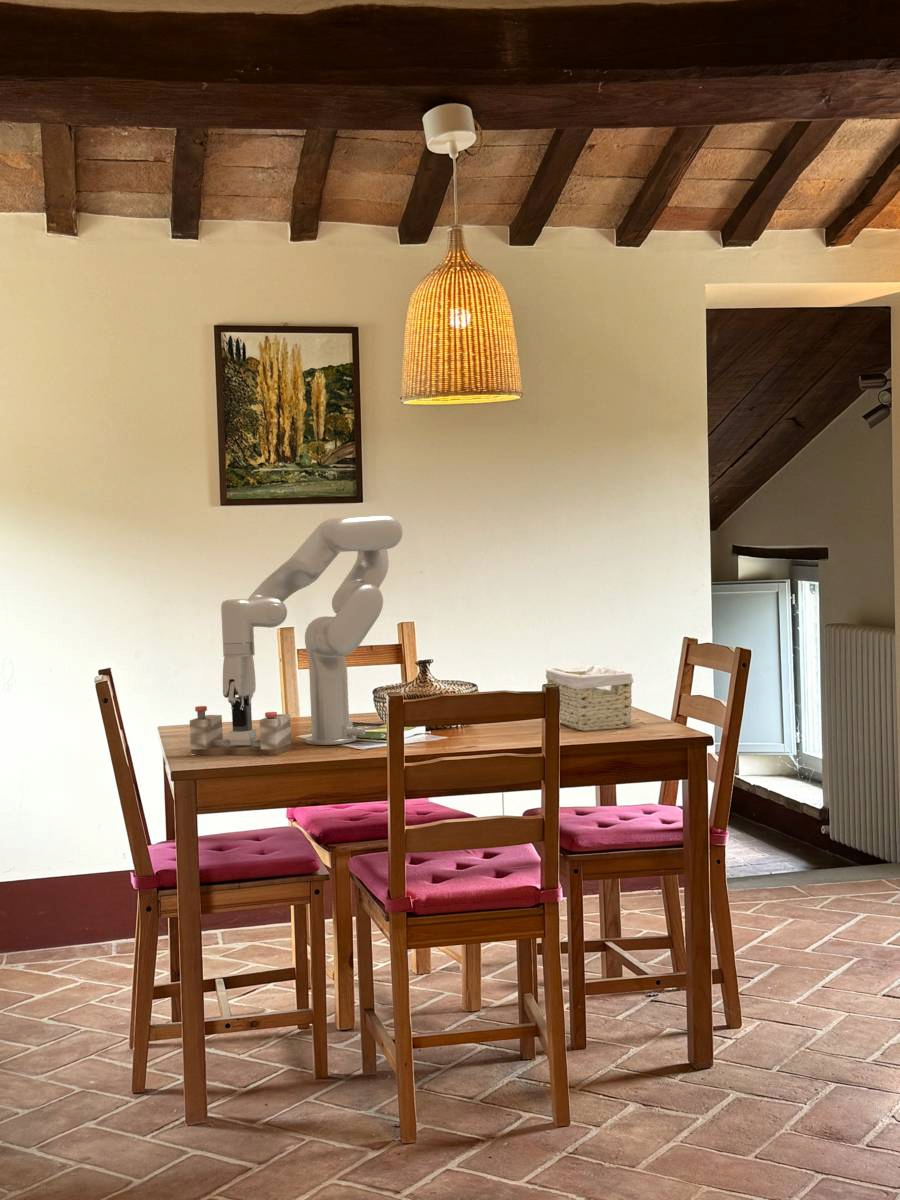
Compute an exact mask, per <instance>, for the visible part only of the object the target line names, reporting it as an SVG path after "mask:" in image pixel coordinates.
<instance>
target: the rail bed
mask: <svg viewBox="0 0 900 1200" xmlns="http://www.w3.org/2000/svg"><path fill="white" fill-rule="evenodd" d="M291 728H292V727H291V714H287V713H286V714H283V713H282V714H279V713H277V717H275V719H267V717H264V718H261V719H259V738H260V739H259V738H258V739H257V738H255V739H250V741H251V745H230V740H229V738H227V739H225V738H223V737H224V736H223V735H224V734H223V715H222V714H205V719H204V720H198V717H196V718H193V719H190V720H189V738H190V755H191V754H196V755H195V756H279V755H281V754H283V753H285V752H288V751H290V750H292V729H291Z"/></svg>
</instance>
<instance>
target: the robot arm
mask: <svg viewBox="0 0 900 1200" xmlns="http://www.w3.org/2000/svg"><path fill="white" fill-rule="evenodd" d="M402 538H403V528H402V525H401V523H400V522H399V520H398V519H396V518H395V517H393V516H391V515H373V516H362V517H361V516H359V517H336V518H335V517H334V518H328V519H325V520H323V521H322V522H320V524H319V525H317V526H316V528H315V529H314V530H313V531H312V532H311V534H309V536H307V538H306V540H305V541H304V542H303V543H302V544H301V545H300V546H299V547H298V549H296V550H295V552H294V553H293V554H292V555H291V557H290V558H289V559H288V560H286V561H285V562H284V563H282V564H281V565H280V566H279V567H278V568H276V569H275V571H273V572H272V573H271V574H270V575H268V576H267V577H266V578H265V579H264V580H263V581H262V582H261V583H260V584H259V585H258V586H257V588H255V590H254V591H253V592H252V593H251V594H250V596H249V597H248V598H235V599H226V600H224V601H222V602H221V606H220V612H221V614H220V615H221V631H222V632H221V633H222V655H223V656H222V657H223V663H222V665H223V666H222V696H223V697H224V698H225V699H227V700H228V703H229V704H230V705H231V707H230V708H231V717H232V716H233V725H232V727H233V726H234V727H244V726H246V713H245V710H244V705H251V706H252V699H253V697H254V694H255V692H256V682H257V681H256V671H255V670H256V669H255V661H254V656H256V654H255V633H254V630H255V629H254V628H255V627H257V628H268V629H270V628H272V629H273V628H275V627H279V626H281V624H283V623H284V621H285V620H286V618H287V616H288V609H287V606H286V604H285V603H284V602H286V600H287V599H288V598H289V597H290V596H292V595H293V594H295V593H296V592H298V591H300V590H303V589H304V588H307V587H309V586H310V585H312V584H313V583H314V582H316V581H317V580H318V579H319V578H320V577H321V576H322V574H323V573H324V572H325V571H326V570H327V568H328V567H329V566H330V565H331V563H333V561H334V560H335V559H336V558H337V557H338V555H339V554H340V553H342V552H343V553H344V552H357V557H356V561H355V563H354V564H353V566H352V567H351V569H350V571H349V572H348V574H347V575H346V576H345V578H344V580H343V581H342V582H341V584H340V585H339V587H338V588H337V589H336V590H335V592H334V594H333V597H332V598H331V608H332V611H333V612H334V613H335V616H326V615H324V616H319V617H317V618H315V619H312V621H311V622H309V623H308V625H307V627H306V629H305V633H304V642H305V643H304V644H305V650H306V654H307V661H308V670H309V672H308V673H309V674H308V675H309V694H310V695H309V696H310V699H309V701H310V718H311V719H310V721H311V736H307V737H306V738H305V743H306V744H308V745H313V746H314V745H315V746H328V745H329V746H331V745H344V744H348V743H353V742H356V741H357V736H358V735H359V736H363V735H366V727H364V726H354V723H353V721H350V713H349V712H350V711H349V706H350V705H349V690H348V689H349V688H348V687H349V686H348V684H349V683H348V682H349V681H348V680H349V679H348V667H347V666H348V665H347V662H346V657H345V656H348V655H351V653H353V652H355V651H356V650H357V649H358V647H359V646H360V645H361V643H362V642H363V640H364V639H365V638H366V636H367V635H368V634H369V632H370V630H371V629H372V627H373V626H374V625H375V623H376V622H377V620H378V619H379V616H380V615H381V613H382V610H383V604H384V597H383V594H382V591H381V590H380V587H381V585H382V583H384V580H385V579H386V577H387V573H388V570H389V563H390V562H389V552H388V550H390V549H393V548H395V547H396V546H398V545H399V543H400V542H401V540H402ZM353 735H355V736H353Z"/></svg>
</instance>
